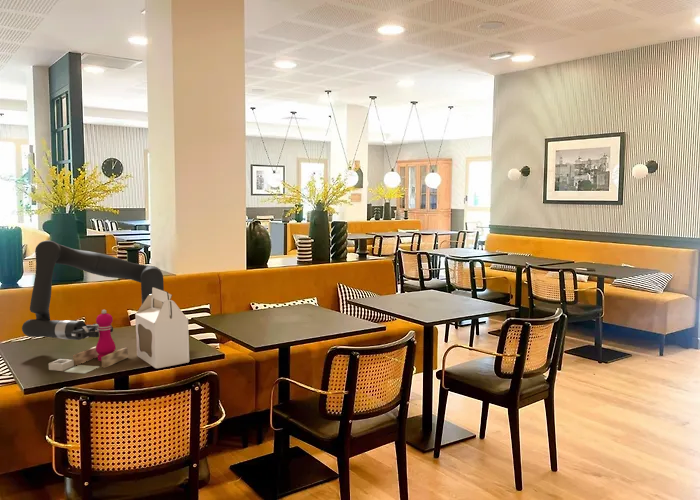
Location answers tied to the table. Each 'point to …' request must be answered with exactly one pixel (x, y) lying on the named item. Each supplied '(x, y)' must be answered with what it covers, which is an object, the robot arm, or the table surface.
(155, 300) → the gable box
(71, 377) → the table surface
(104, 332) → the pepper mill
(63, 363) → the box
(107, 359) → the oak channel
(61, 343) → the table surface
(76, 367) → the sage pad
